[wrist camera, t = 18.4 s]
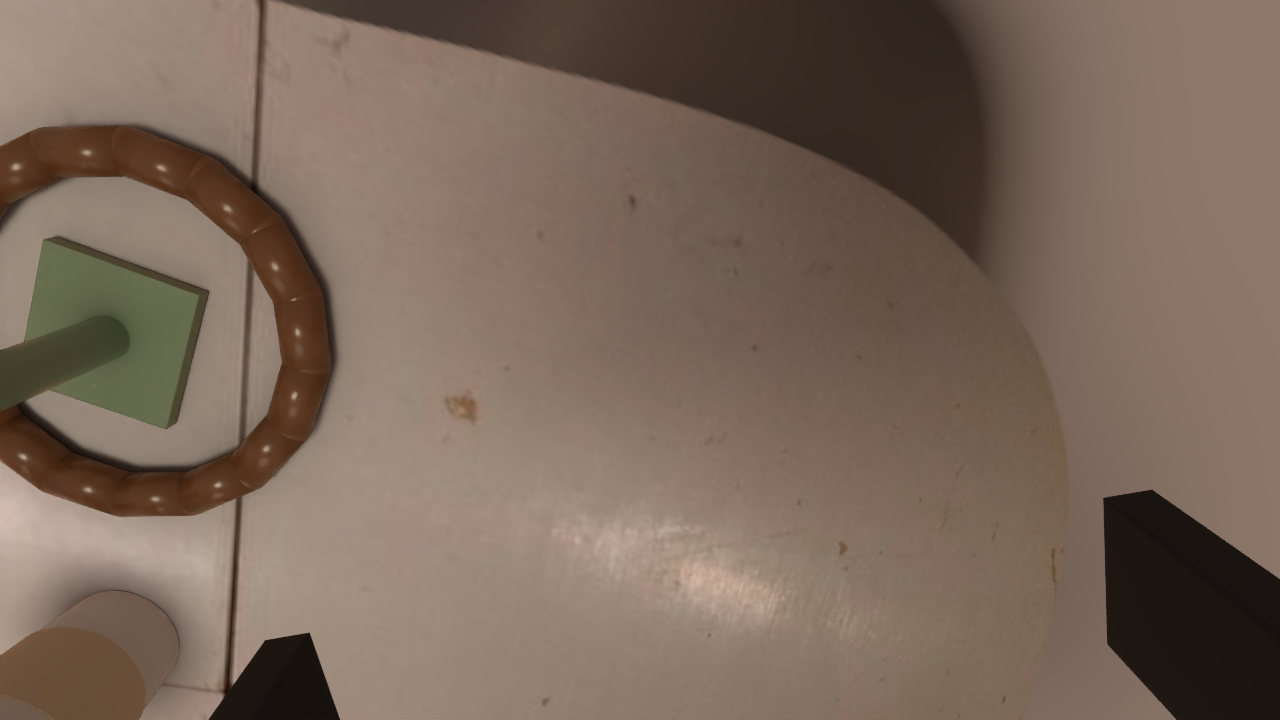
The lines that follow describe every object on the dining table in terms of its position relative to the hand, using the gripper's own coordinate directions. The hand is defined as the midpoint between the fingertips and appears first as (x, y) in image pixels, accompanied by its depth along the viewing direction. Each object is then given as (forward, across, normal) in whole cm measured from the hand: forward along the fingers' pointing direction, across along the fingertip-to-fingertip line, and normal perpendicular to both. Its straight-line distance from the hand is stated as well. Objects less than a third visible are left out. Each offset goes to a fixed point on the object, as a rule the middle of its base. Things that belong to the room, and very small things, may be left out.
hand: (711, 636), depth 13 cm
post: (+31, -29, +3) cm, 42 cm away
